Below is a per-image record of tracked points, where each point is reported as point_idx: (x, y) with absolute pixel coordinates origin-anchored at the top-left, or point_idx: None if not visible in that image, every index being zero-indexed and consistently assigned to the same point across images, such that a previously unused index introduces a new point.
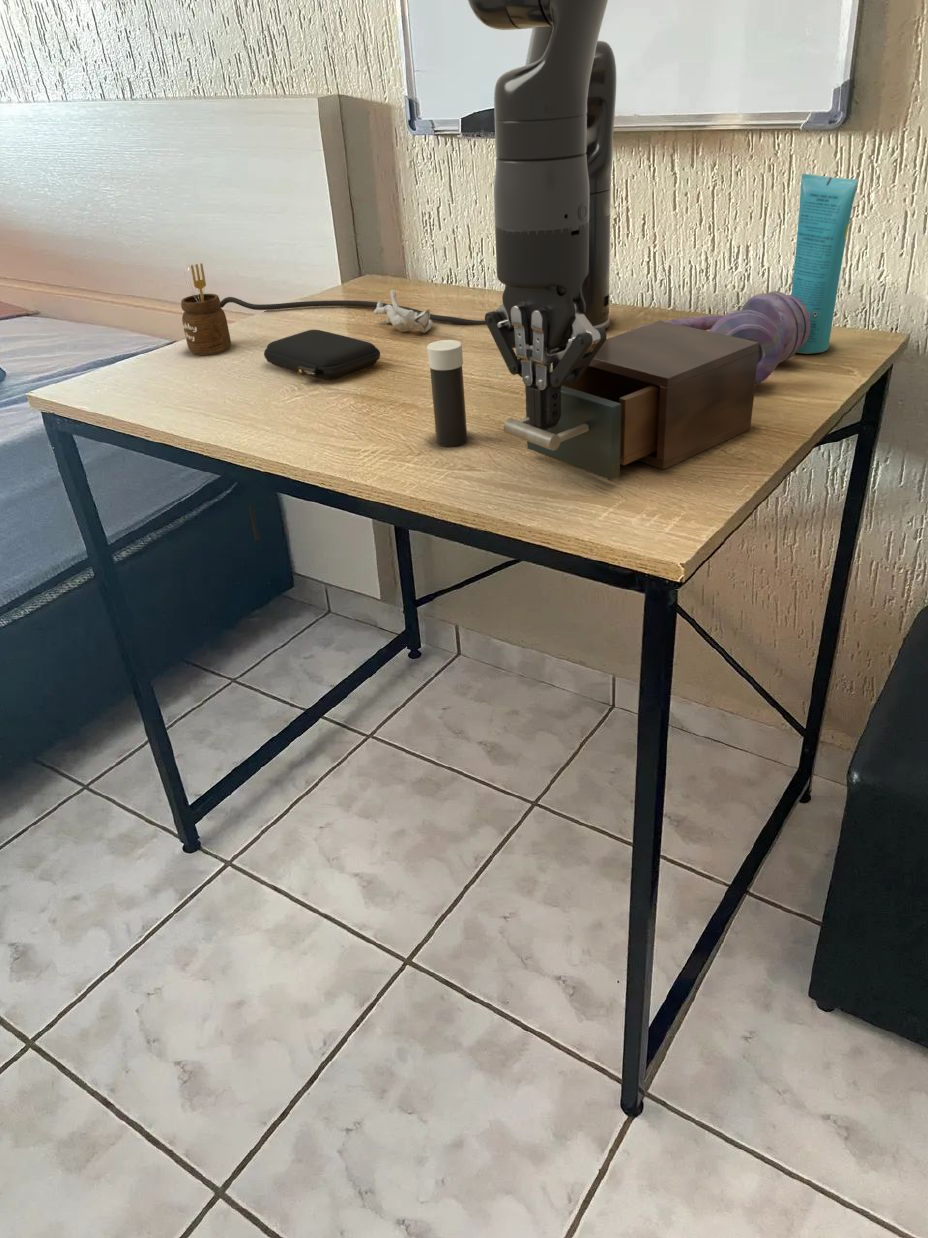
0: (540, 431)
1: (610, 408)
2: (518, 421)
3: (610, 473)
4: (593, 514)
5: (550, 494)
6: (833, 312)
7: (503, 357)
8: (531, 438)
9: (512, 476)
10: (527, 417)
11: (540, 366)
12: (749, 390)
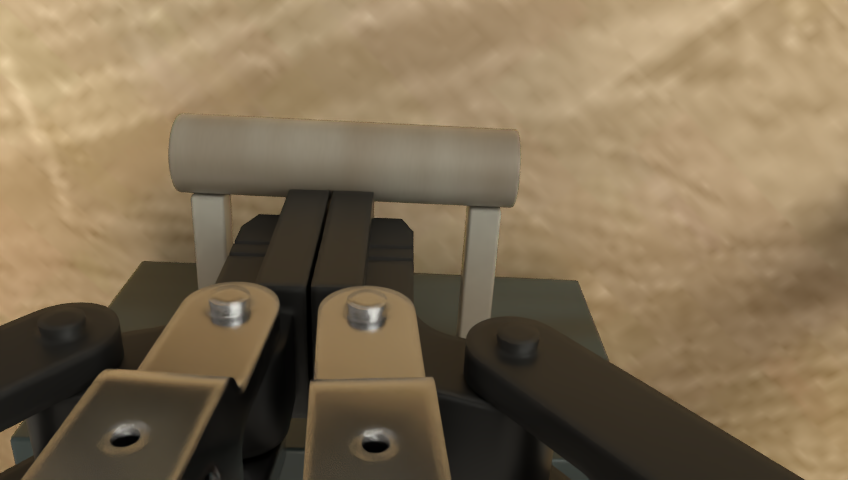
0: (263, 158)
1: (22, 432)
2: (450, 185)
3: (134, 272)
4: (47, 71)
5: (282, 93)
6: None
7: (636, 383)
8: (305, 119)
9: (506, 116)
10: (487, 273)
11: (195, 373)
12: None
